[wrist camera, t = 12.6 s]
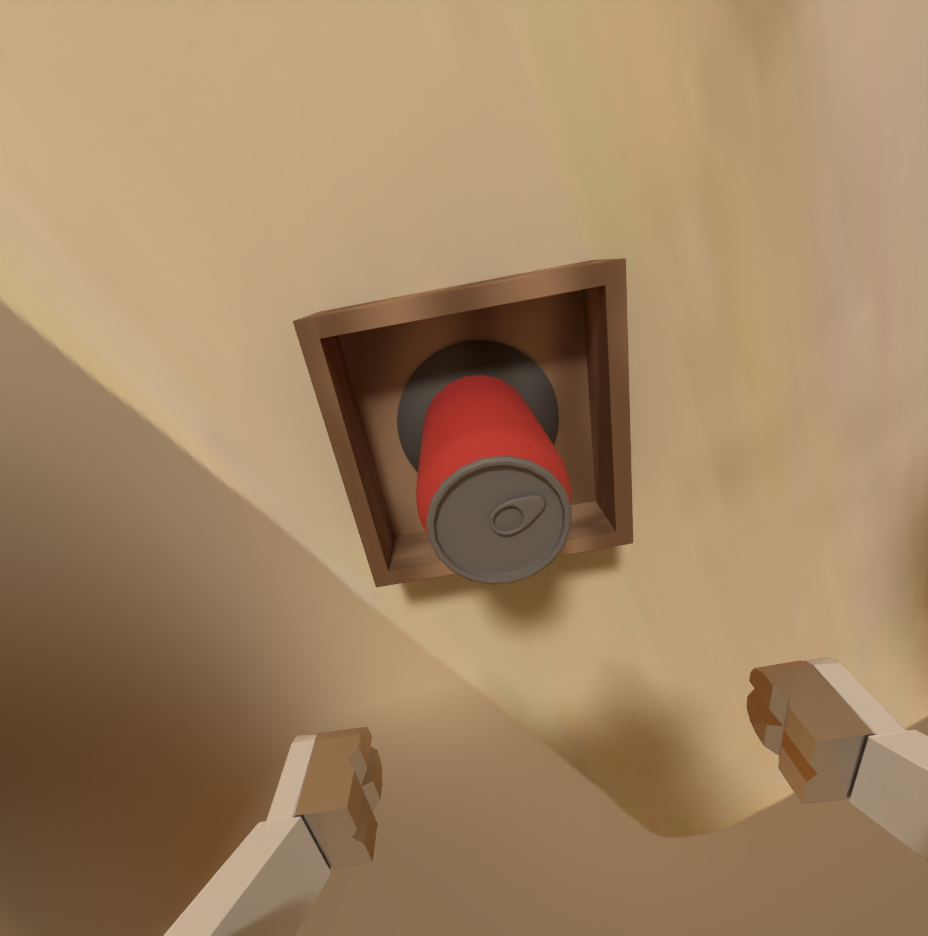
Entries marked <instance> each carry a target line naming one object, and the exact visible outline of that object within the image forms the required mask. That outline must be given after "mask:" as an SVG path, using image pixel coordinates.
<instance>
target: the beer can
mask: <svg viewBox="0 0 928 936" xmlns="http://www.w3.org/2000/svg"><path fill="white" fill-rule="evenodd" d="M416 502H417V509H418V516H419V519H420V522H421V524H422V526H423V528H424V530H425V532H426V534H427V535H428V539H429V543H430V544H431V546H432V548H433V550H434V552H435V554H436V556H437V558H438V559H439V560H440V561H441V562H442V563H443V564H445V565H446V566H447V567H448V568H449V569H450V570H451V571H452V572H454V573H456V574H458V575H460V576H462V577H464V578H467V579H469V580H471V581H476V582H482V583H488V584H500V583H510V582H516V581H518V580H521V579H524V578H526V577H529V576H532V575H534V574H536V573H537V572H539V571H540V570H541V569H543V568H544V567H546V566H547V565H549V564H550V563H551V562H552V561H553V560H554V559H555V557H556V556H557V555H558V554H559V552H560V551H561V550H562V549H563V547H564V546H565V543H566V540H567V538H568V535H569V532H570V530H571V517H572V507H571V485H570V479H569V476H568V473H567V470H566V467H565V465H564V462H563V459H562V458H561V456H560V454H559V453H558V451H557V450H556V448H555V447H554V445H553V443H552V442H551V440H550V439H549V437H548V436H547V434H546V432H545V431H544V429H543V428H542V426H541V425H540V423H539V421H538V420H537V418H536V417H535V415H534V414H533V412H532V410H531V409H530V407H529V406H528V404H527V403H526V401H525V400H524V398H523V397H522V396H521V395H520V394H519V392H518V391H517V390H516V389H515V388H514V387H512V386H511V385H509V384H508V383H506V382H504V381H503V380H501V379H498V378H494V377H489V376H485V375H477V376H466V377H463V378H461V379H458V380H456V381H454V382H451V383H449V384H448V385H446V386H445V387H444V388H443V389H442V390H441V391H440V392H438V393H437V394H436V395H435V397H434V398H433V400H432V402H431V403H430V405H429V407H428V408H427V411H426V415H425V420H424V425H423V433H422V442H421V450H420V459H419V468H418V477H417V486H416Z"/></svg>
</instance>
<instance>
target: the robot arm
mask: <svg viewBox="0 0 928 936" xmlns="http://www.w3.org/2000/svg"><path fill="white" fill-rule="evenodd" d="M749 681H750V683H751V684H752V686H753V687H754V688H755V689H754V690H753V691H752V692H751V693H750V694H749V695H748V696H747V711H748V714H749V718H750V722H751V724H752V726H753V728H754V730H755V732H756V734H757V736H758V737H759V739H760V740H761V742H762V744H763V745H764V746H765V747H767V748H768V749H770V750H771V751H773V752H774V753H776V754H777V755H779V767H778V768H779V770H780V771H781V773H782V774H783V776H784V777H785V779H786V780H787V782H788V783H789V785H790V786H791V788H792V789H793V791H794V792H795V794H796V795H797V797H798V798H799V800H800V802H801V803H802V804H806V803H816V802H826V801H835V800H845V799H850V801H849V802H850V803H852V804H853V805H854V806H856V807H857V808H858V809H859V810H861V811H862V812H863V813H865V814H866V815H867V816H869V817H870V818H871V819H872V820H874V821H875V822H876V823H878V824H879V825H880V826H882V827H883V828H884V829H886V830H887V831H888V832H889V833H891V834H892V835H893V836H895V837H896V838H897V839H899V840H900V841H901V842H903V843H904V844H905V845H906V846H908V847H909V848H910V849H912V850H913V851H914V852H916V853H917V854H918V855H920V856H921V857H922V858H924V859H925V860H926V861H928V736H926V735H924V734H922V733H920V732H918V731H917V730H905V729H904V728H903V727H902V725H901V724H900V723H899V722H898V721H897V720H896V719H895V718H894V717H893V716H892V715H891V714H890V713H889V712H888V711H887V710H886V709H885V708H884V707H883V706H882V705H881V704H880V703H879V702H878V701H877V700H876V699H875V698H874V697H873V696H872V695H871V694H870V693H869V692H868V691H867V690H866V689H865V688H864V687H863V686H862V685H861V684H860V683H859V682H858V681H857V680H856V679H855V678H854V677H853V676H852V675H851V674H850V673H849V672H848V671H847V670H846V669H845V668H844V667H843V666H842V665H841V664H840V663H839V662H838V661H837V660H835V659H833V658H831V657H824V658H818V659H812V660H806V661H795V662H789V663H782V664H776V665H770V666H764V667H758V668H754V669H753V670H752V671H751V673H750V679H749ZM371 740H372V736H371V733H370V731H369V729H368V727H362V728H354V729H346V730H339V731H331V732H323V733H314V734H307V735H300V736H297V737H296V739H295V740H294V741H293V743H292V744H291V747H290V750H289V753H288V756H287V759H286V762H285V766H284V768H283V772H282V775H281V778H280V781H279V784H278V787H277V790H276V793H275V796H274V799H273V802H272V805H271V808H270V811H269V815H268V817H267V820H266V821H263V822H259V823H258V824H257V825H256V827H255V828H254V829H253V830H252V831H251V833H250V834H249V835H248V836H247V837H246V839H245V840H244V841H243V842H242V843H241V844H240V846H239V847H238V848H237V849H236V850H235V851H234V853H233V854H232V855H231V856H230V857H229V859H228V860H227V861H226V862H225V863H224V864H223V866H222V867H221V868H220V869H219V870H218V872H217V873H216V874H215V875H214V876H213V878H212V879H211V880H210V881H209V882H208V883H207V885H206V886H205V887H204V888H203V889H202V891H201V892H200V893H199V894H198V895H197V896H196V898H195V899H194V900H193V901H192V903H191V904H190V905H189V906H188V907H187V909H186V910H185V911H184V912H183V913H182V914H181V915H180V917H179V918H178V919H177V920H176V921H175V923H174V924H173V925H172V926H171V927H170V929H169V930H168V931H167V932H166V933H165V934H164V936H295V934H296V932H297V931H298V929H299V927H300V926H301V924H302V922H303V921H304V919H305V917H306V915H307V914H308V912H309V910H310V908H311V907H312V905H313V903H314V901H315V900H316V898H317V896H318V894H319V893H320V891H321V889H322V887H323V886H324V884H325V882H326V880H327V879H328V877H329V875H330V874H331V871H330V870H331V869H336V868H342V867H348V866H354V865H360V864H366V863H372V862H373V856H374V847H375V840H376V833H377V821H376V819H375V817H374V814H373V810H374V809H375V807H376V806H377V804H378V803H379V801H380V800H381V791H382V766H381V760H380V756H379V754H378V751H377V750H376V749H374V748H373V747H371Z"/></svg>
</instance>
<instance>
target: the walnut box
mask: <svg viewBox="0 0 928 936" xmlns="http://www.w3.org/2000/svg"><path fill="white" fill-rule="evenodd" d="M293 323H294V327H295V330H296V333H297V336H298V339H299V342H300V346H301V349H302V352H303V355H304V358H305V362H306V365H307V368H308V371H309V374H310V378H311V381H312V384H313V387H314V390H315V394H316V397H317V400H318V403H319V406H320V410H321V413H322V416H323V419H324V422H325V426H326V429H327V432H328V435H329V438H330V442H331V445H332V448H333V451H334V454H335V458H336V461H337V464H338V467H339V470H340V474H341V477H342V480H343V483H344V486H345V490H346V493H347V496H348V499H349V502H350V505H351V509H352V512H353V515H354V518H355V521H356V525H357V528H358V531H359V534H360V537H361V541H362V544H363V547H364V550H365V553H366V557H367V560H368V563H369V566H370V569H371V573H372V576H373V579H374V582H375V585H376V587H381V586H387V585H393V584H398V583H404V582H410V581H416V580H422V579H427V578H433V577H439V576H445V575H451V574H456V573H454V572H452V571H451V570H450V569H449V568H448V567H447V566H446V565H445V564H443V563H442V562H441V561H440V560H439V559H438V558H437V556H436V554H435V552H434V550H433V548H432V546H431V544H430V543H429V539H428V535H427V534H426V532H425V530H424V528H423V526H422V524H421V522H420V519H419V516H418V509H417V502H416V486H417V477H418V468H419V459H420V450H421V442H422V433H423V425H424V420H425V415H426V411H427V408H428V407H429V405H430V403H431V402H432V400H433V398H434V397H435V395H436V394H437V393H438V392H440V391H441V390H442V389H443V388H444V387H445V386H446V385H448V384H449V383H451V382H454V381H456V380H458V379H461V378H463V377H466V376H477V375H485V376H489V377H494V378H498V379H501V380H503V381H504V382H506V383H508V384H509V385H511V386H512V387H514V388H515V389H516V390H517V391H518V392H519V394H520V395H521V396H522V397H523V398H524V400H525V401H526V403H527V404H528V406H529V407H530V409H531V410H532V412H533V414H534V415H535V417H536V418H537V420H538V421H539V423H540V425H541V426H542V428H543V429H544V431H545V432H546V434H547V436H548V437H549V439H550V440H551V442H552V443H553V445H554V447H555V448H556V450H557V451H558V453H559V454H560V456H561V458H562V459H563V462H564V465H565V467H566V470H567V473H568V476H569V479H570V485H571V507H572V517H571V530H570V532H569V535H568V538H567V540H566V543H565V546H564V547H563V549H562V550H561V551H560V552H559V554H558V555H557V556H561V555H567V554H573V553H579V552H584V551H590V550H596V549H602V548H608V547H613V546H619V545H625V544H631V543H633V517H632V479H631V442H630V404H629V366H628V329H627V291H626V259H606V260H591V261H586V262H581V263H575V264H570V265H565V266H560V267H554V268H549V269H544V270H538V271H533V272H528V273H522V274H517V275H512V276H507V277H501V278H496V279H491V280H485V281H480V282H475V283H470V284H464V285H459V286H454V287H448V288H443V289H438V290H433V291H427V292H422V293H417V294H411V295H406V296H401V297H396V298H390V299H385V300H380V301H374V302H369V303H364V304H358V305H353V306H348V307H343V308H337V309H332V310H327V311H321V312H317V313H315V314H312V315H309V316H306V317H303V318H301V319H298V320H295V321H293Z"/></svg>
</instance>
